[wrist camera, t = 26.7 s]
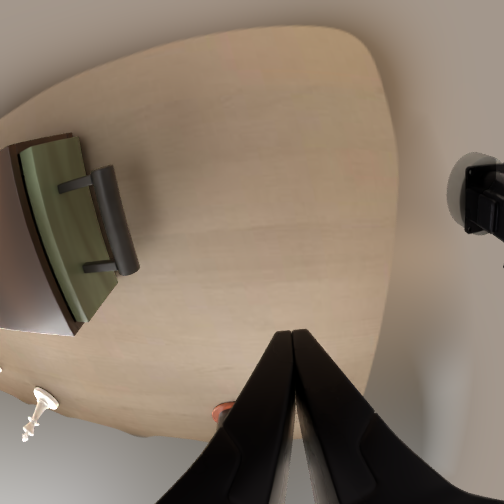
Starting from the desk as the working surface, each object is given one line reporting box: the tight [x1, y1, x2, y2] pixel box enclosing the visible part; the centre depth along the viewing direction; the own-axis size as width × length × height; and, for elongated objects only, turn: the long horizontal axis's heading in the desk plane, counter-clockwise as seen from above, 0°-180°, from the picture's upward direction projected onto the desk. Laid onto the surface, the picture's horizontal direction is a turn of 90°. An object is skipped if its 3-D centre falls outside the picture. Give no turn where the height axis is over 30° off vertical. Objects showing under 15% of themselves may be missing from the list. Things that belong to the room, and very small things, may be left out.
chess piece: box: [22, 387, 59, 442], centre depth 28 cm, size 5×5×10 cm
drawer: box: [19, 137, 140, 322], centre depth 17 cm, size 17×12×5 cm
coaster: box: [212, 402, 235, 423], centre depth 29 cm, size 6×6×1 cm
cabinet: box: [0, 133, 84, 336], centre depth 17 cm, size 13×13×7 cm
